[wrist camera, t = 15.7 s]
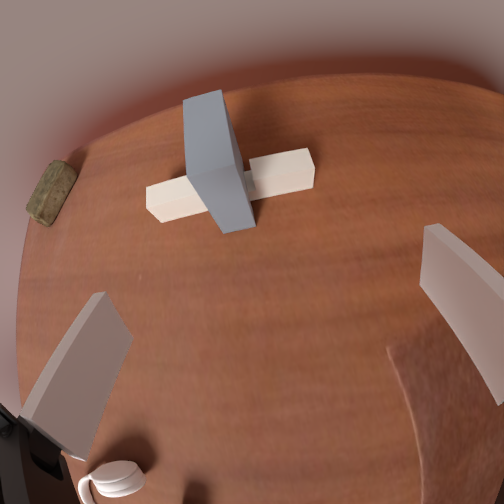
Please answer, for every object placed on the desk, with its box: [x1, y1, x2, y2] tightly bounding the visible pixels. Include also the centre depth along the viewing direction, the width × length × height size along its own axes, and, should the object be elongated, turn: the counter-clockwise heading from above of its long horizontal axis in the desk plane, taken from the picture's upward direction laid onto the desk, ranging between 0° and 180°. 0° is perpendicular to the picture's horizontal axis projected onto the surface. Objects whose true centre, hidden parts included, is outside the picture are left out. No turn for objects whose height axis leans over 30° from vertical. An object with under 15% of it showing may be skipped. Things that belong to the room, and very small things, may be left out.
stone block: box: [26, 160, 77, 227], centre depth 38 cm, size 6×12×5 cm, turn 159°
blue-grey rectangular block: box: [183, 90, 256, 234], centre depth 29 cm, size 10×4×13 cm, turn 11°
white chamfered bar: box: [146, 148, 315, 223], centre depth 33 cm, size 20×3×4 cm, turn 101°
